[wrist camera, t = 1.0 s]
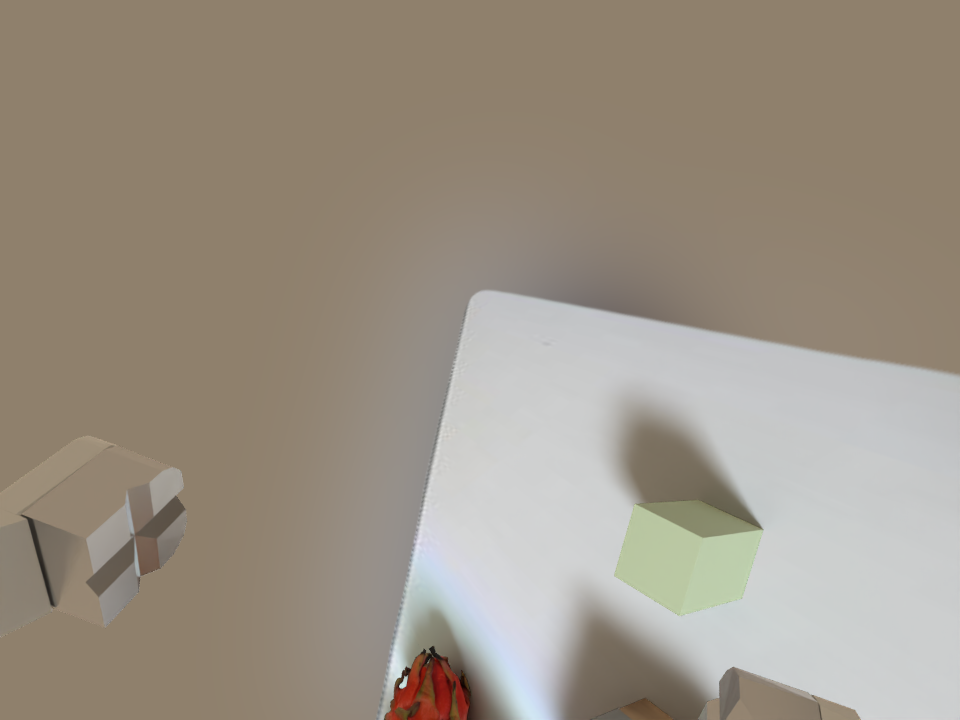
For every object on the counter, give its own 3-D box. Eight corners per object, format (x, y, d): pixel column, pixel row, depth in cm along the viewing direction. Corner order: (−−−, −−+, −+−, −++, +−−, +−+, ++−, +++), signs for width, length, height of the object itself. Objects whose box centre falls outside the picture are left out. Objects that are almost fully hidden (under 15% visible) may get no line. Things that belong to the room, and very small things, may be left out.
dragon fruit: (457, 770, 65) (480, 643, 67) (467, 816, 57) (493, 669, 59) (372, 757, 64) (397, 629, 66) (368, 801, 56) (398, 653, 58)
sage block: (763, 529, 45) (702, 538, 39) (742, 598, 45) (679, 616, 40) (698, 499, 48) (634, 503, 43) (679, 563, 49) (613, 575, 43)
